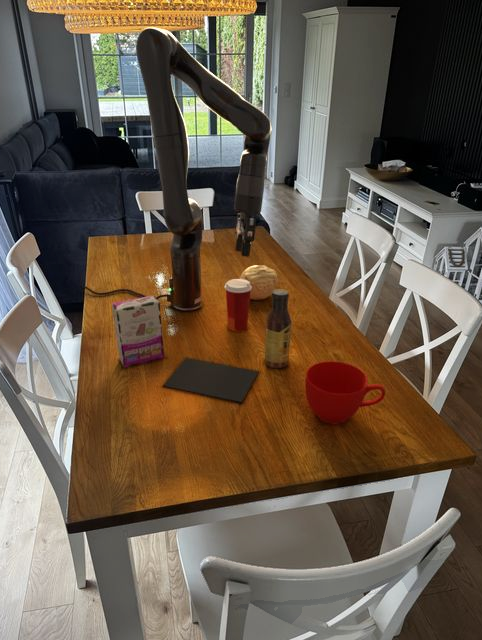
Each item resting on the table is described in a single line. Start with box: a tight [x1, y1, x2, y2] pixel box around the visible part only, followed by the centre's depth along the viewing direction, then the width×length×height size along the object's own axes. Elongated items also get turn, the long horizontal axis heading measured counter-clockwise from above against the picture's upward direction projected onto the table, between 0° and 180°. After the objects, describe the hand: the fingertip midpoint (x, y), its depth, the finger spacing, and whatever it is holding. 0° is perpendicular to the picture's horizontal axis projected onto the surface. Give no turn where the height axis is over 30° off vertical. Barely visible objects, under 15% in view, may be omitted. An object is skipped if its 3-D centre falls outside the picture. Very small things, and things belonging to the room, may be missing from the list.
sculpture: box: [239, 264, 278, 301], centre depth 162 cm, size 12×12×11 cm
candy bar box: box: [111, 294, 165, 368], centre depth 125 cm, size 11×5×16 cm, turn 117°
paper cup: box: [223, 278, 252, 332], centre depth 142 cm, size 8×8×14 cm
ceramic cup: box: [304, 360, 386, 425], centre depth 106 cm, size 13×17×10 cm
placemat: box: [162, 357, 260, 404], centre depth 120 cm, size 20×14×1 cm
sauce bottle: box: [264, 288, 292, 369], centre depth 123 cm, size 7×6×20 cm
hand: (241, 253), depth 138 cm, fingers open, 8 cm apart
